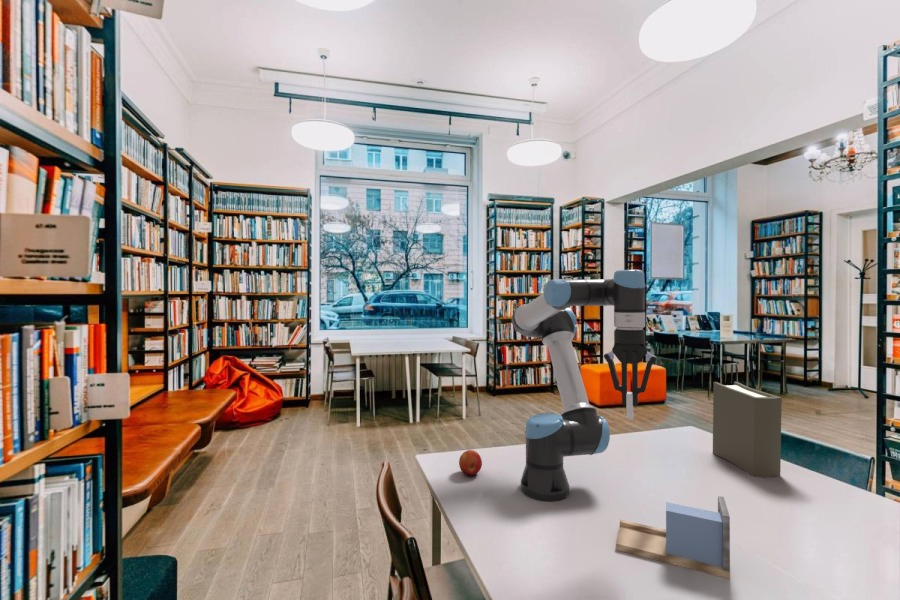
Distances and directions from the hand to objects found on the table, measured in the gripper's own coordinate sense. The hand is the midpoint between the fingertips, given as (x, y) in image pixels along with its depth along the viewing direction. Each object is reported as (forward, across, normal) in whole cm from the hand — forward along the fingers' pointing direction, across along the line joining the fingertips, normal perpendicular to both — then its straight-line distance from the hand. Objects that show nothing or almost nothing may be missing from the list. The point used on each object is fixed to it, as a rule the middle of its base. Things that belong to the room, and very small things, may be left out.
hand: (630, 417), depth 109 cm
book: (+30, +34, +64) cm, 78 cm away
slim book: (+28, +14, -8) cm, 32 cm away
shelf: (+29, +9, -6) cm, 31 cm away
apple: (+30, -52, +12) cm, 61 cm away
